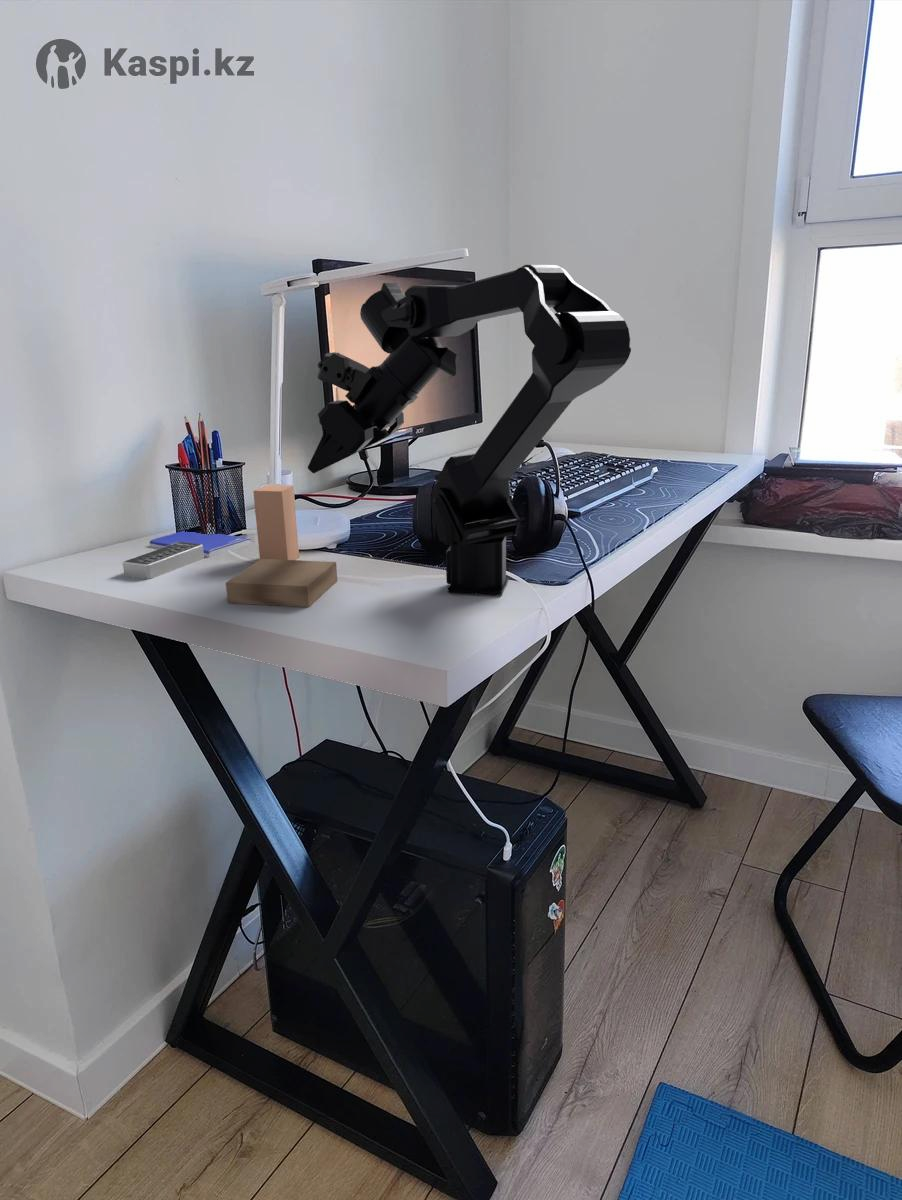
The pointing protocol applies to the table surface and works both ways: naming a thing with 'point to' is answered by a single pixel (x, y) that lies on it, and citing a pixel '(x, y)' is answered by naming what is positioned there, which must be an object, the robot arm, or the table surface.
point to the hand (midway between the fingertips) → (323, 464)
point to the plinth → (282, 582)
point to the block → (276, 522)
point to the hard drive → (203, 542)
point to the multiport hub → (163, 560)
